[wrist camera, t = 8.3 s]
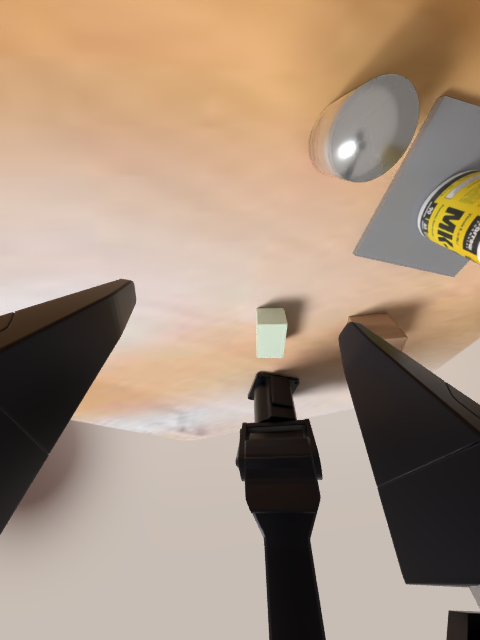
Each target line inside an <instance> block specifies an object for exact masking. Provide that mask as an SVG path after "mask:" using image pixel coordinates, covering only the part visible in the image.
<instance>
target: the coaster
mask: <svg viewBox="0 0 480 640" xmlns="http://www.w3.org/2000/svg"><path fill="white" fill-rule="evenodd" d="M470 170H480V107H479V106H476V105H473V104H470V103H467V102H464V101H460V100H457V99H454V98H451V97H448V96H443V97H439V98H438V99H437V101H436V103H435V104H434V106H433V108H432V110H431V112H430V113H429V115H428V117H427V119H426V121H425V123H424V124H423V126H422V128H421V130H420V132H419V133H418V135H417V137H416V139H415V141H414V143H413V144H412V146H411V148H410V150H409V152H408V153H407V155H406V157H405V159H404V161H403V163H402V164H401V166H400V168H399V170H398V172H397V173H396V175H395V177H394V179H393V181H392V183H391V184H390V186H389V188H388V190H387V192H386V193H385V195H384V197H383V199H382V201H381V203H380V204H379V206H378V208H377V210H376V212H375V213H374V215H373V217H372V219H371V221H370V223H369V224H368V226H367V228H366V230H365V232H364V233H363V235H362V237H361V239H360V241H359V243H358V244H357V246H356V248H355V250H354V252H353V254H354V255H355V256H360V257H364V258H369V259H373V260H378V261H383V262H387V263H392V264H396V265H401V266H405V267H410V268H415V269H419V270H424V271H428V272H433V273H437V274H442V275H447V276H451V277H454V276H455V275H456V274H457V273H458V272H459V271H460V270H461V269H462V268H463V267H464V266H465V265H466V264H467V262H468V261H469V260H470V259H467V258H465V257H464V256H462V255H459V254H457V253H455V252H453V251H451V250H449V249H447V248H445V247H443V246H441V245H439V244H437V243H435V242H433V241H431V240H429V239H427V238H426V237H424V236H423V235H422V234H421V233H420V231H419V228H418V222H417V221H418V215H419V212H420V209H421V207H422V205H423V204H424V202H425V200H426V199H427V198H428V196H429V195H430V194H431V193H432V192H433V191H434V190H435V189H436V188H437V187H438V186H439V185H441V184H442V183H443V182H445V181H446V180H448V179H449V178H451V177H453V176H455V175H457V174H459V173H462V172H466V171H470Z"/></svg>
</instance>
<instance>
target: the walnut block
mask: <svg viewBox="0 0 480 640" xmlns="http://www.w3.org/2000/svg"><path fill="white" fill-rule="evenodd" d="M351 321H352V322H358V323H361V324H362V325H364V326H365V327H366V328H368V329H369V330H371V331H372V332H374V333H375V334H377V335H378V336H380V337H381V338H382V339H384V340H385V341H387V342H388V343H390V344H391V345H393V346H394V347H396V348H397V349H398V350H400V351H402V349H403V346H404V344H405V342H406V340H407V338H408V337H407V336H406V335H405V333H404V332H403V331H402V330H401V329H400V328H399V327H398V325H397V324H396V323H395V322H394V321H393V320H392V319H391V317H390V316H389V315H388V314H387V313H382V314H372V315H362V316H352V317H349V318H348V322H351Z"/></svg>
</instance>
